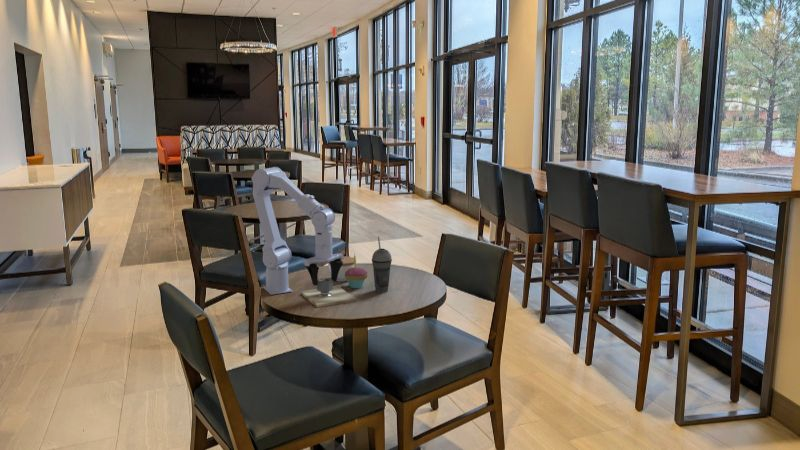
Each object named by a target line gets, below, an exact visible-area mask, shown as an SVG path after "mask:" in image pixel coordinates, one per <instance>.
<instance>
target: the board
mask: <svg viewBox="0 0 800 450" xmlns="http://www.w3.org/2000/svg"><path fill="white" fill-rule="evenodd" d="M300 293H301V296H303V297H304V298H305V299H307V301H309V303H311V304H313V306H315V308H323V307H329V306H330V305H331V306H335V305H341V304H342V303H343V304H347V303H355V302H357V298H356V297H354V296H353V295H351V294H350V293H349V292H347V290H345V289H343V288H342V287H340V286H339V285H335V286H333V290H331V291H329V293H331V296H328V297H320V296H319V294H320V293H321V292H320V291H318V290H317V288H315V289H309V290H302V291H301V292H300Z"/></svg>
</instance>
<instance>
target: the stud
mask: <svg viewBox="0 0 800 450" xmlns="http://www.w3.org/2000/svg"><path fill="white" fill-rule="evenodd" d="M319 296H320V297H328V296H331V293H329V292H321V293H320V294H319Z"/></svg>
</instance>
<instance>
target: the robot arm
mask: <svg viewBox="0 0 800 450" xmlns="http://www.w3.org/2000/svg"><path fill="white" fill-rule="evenodd" d="M251 182H252V196H253V197H252V198H253V200H254V204H255V208H256V212H257V215H258V220H259V222H260V226H261V230H262V233H263V237H264V241H265V242H264V245H263V247H262V248H261V249H262V262H263V264H264V266H265V268H266V269H265V286H263V289H264V290H265V291H266V292H267V293H268V294H269V295H279V294H284V293H285V294H286V293H292V292H293V289H291V288H290V286H289V264H290V263H289V262H290V261H291V259H292V258H293V257H292V251H291V249H290V248H289V246H288V245H287V241H285V240H284V239H283V238H282V237H281V233H280V230H279V226H278V223H277V219H276V216H275V210H274V208H273V204H272V200H271V194H272V192H273V191H274V189H280V190H282V191H283V192H284V193H285V194H287V195H288V196H289V197H291V198H292V199H293V200H294V201H296V203H297V207H298V208H299V209H300V210H301V211H302V212H303V213H304V214H305V215H307V216H308V217H309V218H310V219H311V224H312V225H313V228H314V235H315V236H314V237H315V256H312V257H309V258H306V259H304V260H303V265H304V266H305V268H306V270H307V272H308V273H309V276H310V278H311V282H312V285H313V286H316V287H317V284H318V279H319V278H318V275H319V269H320V267H319V266H317V265H319V264H324V263H328V262H330V266H331V275H330V277H331V278H330V279H332V280H333V282H338V281H337V276H338V273H339V270H340V268H341V266H342V265H343V261H341V260H344V256H345V255H344V254H343V253H340V252H338V253H333V224H334V222H335V220H336V215H335V212H334V211H333V209H332V208H330V207H325V205H323V204H321V203H320V202H319V201H317V200H316V199H315V196H314V195H313V194H312V195H310V194H309V193H308V194H304V192H302V191H301V190H300V188H299V187H298V186H296V184H295V183H294V182H293V181H292V180H291V179H289V177H287V174H286V172H285V171H283V170H282V169H281V168H280V167H278V166H272V167H267V168H259V169H256V171H254V173H253V175H252V176H251Z"/></svg>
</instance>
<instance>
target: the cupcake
mask: <svg viewBox="0 0 800 450" xmlns="http://www.w3.org/2000/svg"><path fill="white" fill-rule="evenodd" d="M353 254H354V256H353V258H354V268H350V269H348V270H347V271H346V272H345V278H346V279H347V281H346V282H347V283H348V286H349V288H350V289H360V288H361V289H362V287H363V285H364V282H365V280H366V279H368V271H366V270H365V268H362V267H358V266H357V256H356V255H355V253H353Z"/></svg>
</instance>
